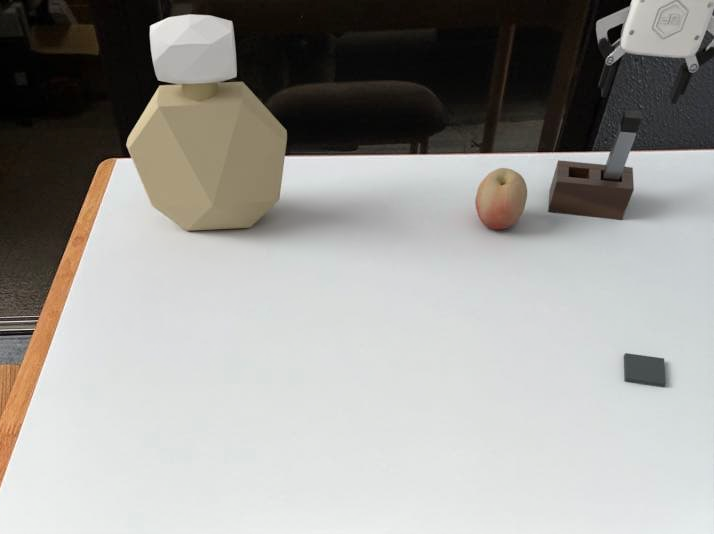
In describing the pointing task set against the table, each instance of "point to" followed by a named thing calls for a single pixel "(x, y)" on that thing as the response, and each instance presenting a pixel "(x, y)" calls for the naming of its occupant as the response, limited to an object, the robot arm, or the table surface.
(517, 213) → the fruit
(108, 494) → the table surface
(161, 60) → the perfume bottle
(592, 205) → the holder
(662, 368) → the mat
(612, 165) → the grey square peg
